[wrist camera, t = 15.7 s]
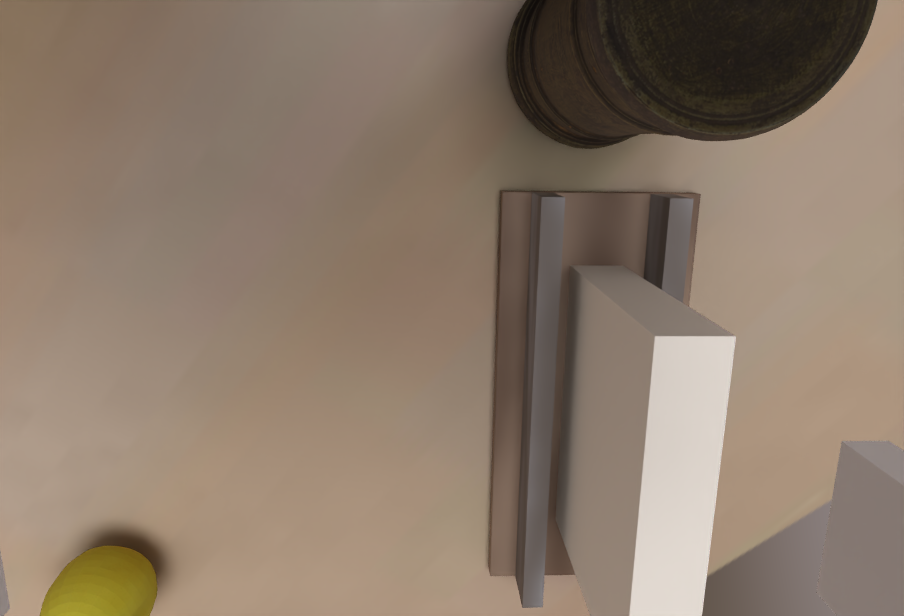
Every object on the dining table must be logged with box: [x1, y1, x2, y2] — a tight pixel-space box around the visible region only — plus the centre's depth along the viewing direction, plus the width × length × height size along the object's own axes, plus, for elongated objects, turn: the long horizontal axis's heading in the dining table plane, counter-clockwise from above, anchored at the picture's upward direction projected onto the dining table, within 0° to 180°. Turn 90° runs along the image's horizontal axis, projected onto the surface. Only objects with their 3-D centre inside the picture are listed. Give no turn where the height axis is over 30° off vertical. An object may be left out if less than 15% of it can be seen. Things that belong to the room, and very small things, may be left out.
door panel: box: [556, 265, 736, 616], centre depth 33 cm, size 4×16×14 cm, turn 179°
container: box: [507, 0, 878, 149], centre depth 28 cm, size 9×9×18 cm
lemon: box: [40, 545, 157, 616], centre depth 37 cm, size 7×6×10 cm
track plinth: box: [489, 191, 700, 608], centre depth 39 cm, size 11×24×4 cm, turn 179°
